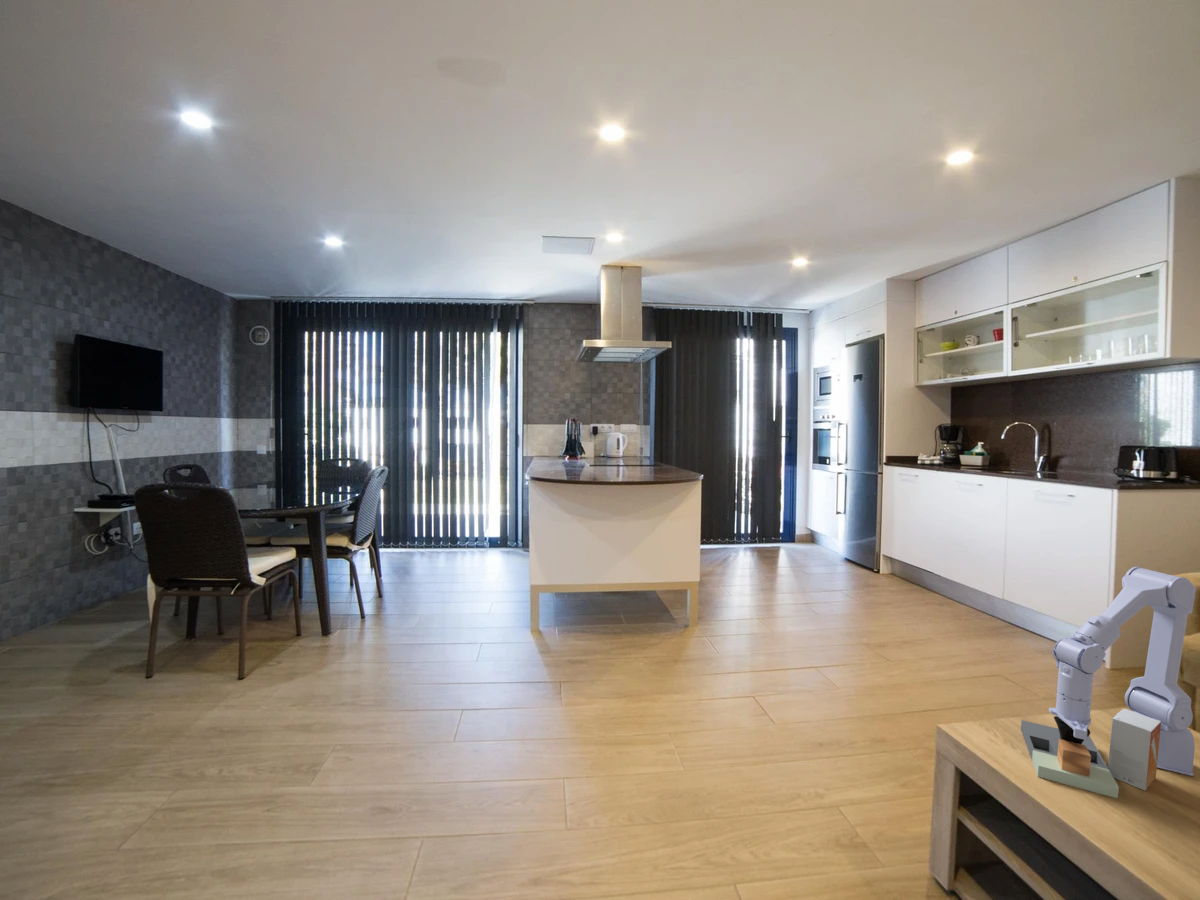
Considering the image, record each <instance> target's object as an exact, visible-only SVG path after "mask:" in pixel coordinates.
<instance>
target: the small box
mask: <svg viewBox="0 0 1200 900" xmlns="http://www.w3.org/2000/svg"><path fill="white" fill-rule="evenodd" d="M1111 719H1112V720H1111V731H1110V739H1109V741H1110V742H1109V744H1110V745H1109V754H1108V764H1107V767H1108V769H1109V771H1110V772H1111V774H1112V776H1113V778H1114V779H1115V780H1116V779H1117V780H1119V781H1121V782H1123V783H1126V784H1128V785H1130V786H1132V787H1135V788H1138V789H1141V790H1143V791H1147V790H1148V788H1149V786H1150V785H1151V784H1152V783H1153V782H1154V780H1155V779H1157V770H1158V769H1157V760H1158V749H1159V739H1160V729H1161V721H1159V720H1156V719H1153V718H1150V717H1147V716H1144V715H1142V714H1139V713H1136V712H1133V711H1131V709H1127V708H1122V709H1121V710H1120V711H1119V712H1117V713H1115V715H1114V716H1113V717H1112V718H1111Z"/></svg>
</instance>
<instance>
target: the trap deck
mask: <svg viewBox="0 0 1200 900" xmlns="http://www.w3.org/2000/svg"><path fill="white" fill-rule="evenodd" d="M1020 731H1021V733H1022V736H1023V740H1024V742H1025V745H1026V747H1027V750H1028V753H1029V756H1030V759H1031V761H1032V764H1033V767H1034V770H1035V773H1036V775H1037V778H1040V777H1041V778H1040V779H1044V778H1045V780H1049V781H1051V780H1052V781H1053V782H1054V783H1055V782H1056V783H1060V784H1061V785H1062V784H1063V785H1067V786H1070V787H1073V788H1078V789H1081V790H1086V791H1089V792H1092V793H1096V794H1099V795H1104V796H1107V797H1111V798H1114V799H1118V798H1119V788H1120V787H1119V785H1118V783H1117V782H1116V779H1115V778H1114V777H1113V776H1112V774H1111V772H1110V771H1109V769H1108V764H1107V763H1106V762H1105V761H1104V759H1103V757H1102V754H1100V752H1099V750H1098V748H1097V746H1096V745H1095V743H1094V741H1093V740H1092V738H1091V736H1090V735H1089V736H1088V737H1087V740H1084V741H1083V742H1082V745H1085V746H1086V748H1087V749H1088V751H1089V753H1090V755H1091V762H1090V775H1089V777H1088V776H1084V775H1081V774H1077V773H1073V772H1069V771H1066V770H1062V769H1061V766H1060V764H1059V761H1058V759H1057V755H1058V742H1059V739H1060V733H1059V729H1058V727H1054V726H1053V727H1052V726H1049V725H1045V724H1041V723H1040V724H1039V723H1036V722H1032V721H1027V720H1023V719H1021V722H1020Z"/></svg>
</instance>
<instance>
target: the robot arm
mask: <svg viewBox="0 0 1200 900" xmlns="http://www.w3.org/2000/svg"><path fill="white" fill-rule="evenodd" d="M1121 587H1122V589H1121V590H1120V592H1119V593H1118V594H1117V596H1115V598H1114V599H1113V600H1112V602H1110V604H1109V605H1108V606H1107V608H1106V609H1105V610H1104V611H1103V613H1102V614H1101V615H1091V616H1090V617H1088V619H1087V620H1086V621H1085V622H1084V623H1083V624H1082V625H1081V626H1080V628H1078V629H1077V630H1076V631H1075V632H1074V633H1072V634H1071V636H1069V637H1065V638H1060V639H1059V640H1057V641H1056V643H1055V644H1054V648H1052V651H1051V652H1052V656H1053V658H1054V659H1055V666H1056V669H1058V675H1057V684H1056V685H1057V689H1056V699H1055V700H1056V701H1055V707H1051V706H1050V707H1048V712H1049V714H1051V715H1054V716H1053V719H1054V721H1055V723H1056V727H1057V728H1058V729H1059V733H1060V739H1062V740H1066V741H1070V742H1074V743H1078V744H1082V742H1083V741H1084V740H1087V737H1088V736H1090V735H1091V730H1090V729H1089V727H1090V725H1091V723H1092V719H1091V708H1092V707H1091V706H1092V694H1093V681H1094V673H1096V672H1097V671H1099V670H1100V669H1101V667H1102V665H1103V660H1104V658H1105V657H1106V655H1107V654H1106V651H1107V650H1108V649H1109V648H1111V646H1113V644H1114V643H1115V642H1116V641H1117V640H1118V639H1119V638H1120V637H1121V635H1122V633H1121V632H1122V631H1121V628H1120V627H1122V625H1123V624H1125V623H1126V622H1127V621H1129V620H1130V619H1131V618H1133V616H1135V615H1136V614H1137V613H1138V612H1140V611H1141V610H1142V609H1144V608H1145V607H1147V606H1148V607H1150V608H1151V609H1153V617H1152V623H1151V630H1150V638H1149V641H1148V649H1147V656H1146V662H1145V669H1144V675H1143V676H1139V677H1134V678H1133V679H1131V680H1130V685H1129V687H1128V689H1127V690H1126V691H1125V694H1124V701H1125V702H1124V703H1125V705H1126V707H1127V708H1128V710H1130V711H1133V712H1136V713H1139V714H1142V715H1144V716H1147V717H1150V718H1153V719H1156V720H1159V721H1161V729H1160V739H1159V749H1158V760H1157V768H1158V769H1162V770H1166V771H1171V772H1175V773H1178V774H1182V775H1187V776H1191V777H1194V775H1195V774H1194V771H1193V770H1194V760H1195V750H1196V749H1195V747H1196V746H1195V744H1196V743H1195V738H1194V735H1193V733H1192V731H1191V730H1190V729H1189V727H1190V726H1191V724H1192V722H1193V717H1194V714H1193V710H1192V698H1191V697H1190V696H1189V695H1188V694H1187V693H1186V692H1185V691H1184V689H1182V688H1181V686H1180V685H1178V680H1179V674H1180V667H1181V660H1182V654H1183V649H1184V648H1183V647H1184V641H1185V635H1186V629H1187V621H1188V617H1189V616H1188V615H1190V614H1193V610H1194V604H1195V597H1196V593H1197V592H1196V590H1197V587H1196V586H1195V585H1194V584H1193V583H1192V582H1191V581H1190V579H1188V578H1186V577H1182V576H1176V575H1172V574H1168V573H1164V572H1159V571H1155V570H1152V569H1147V568H1144V567H1141V566H1133V567H1131V568H1130V569H1128V570H1127V571H1126V573H1125V574H1124V575H1123V577H1122V579H1121Z"/></svg>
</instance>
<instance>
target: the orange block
mask: <svg viewBox="0 0 1200 900" xmlns="http://www.w3.org/2000/svg"><path fill="white" fill-rule="evenodd" d="M1057 759H1058V761H1059V764H1060V766H1061V769H1062V770H1066V771H1069V772H1073V773H1077V774H1081V775H1084V776H1088V777H1089V775H1090V762H1091V755H1090V753H1089V751H1088V749H1087V748H1086V746H1085V745H1082V744H1078V743H1074V742H1070V741H1066V740H1062V739H1059V742H1058V755H1057Z"/></svg>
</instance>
